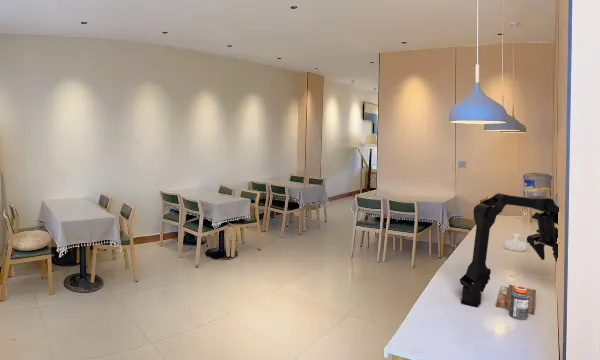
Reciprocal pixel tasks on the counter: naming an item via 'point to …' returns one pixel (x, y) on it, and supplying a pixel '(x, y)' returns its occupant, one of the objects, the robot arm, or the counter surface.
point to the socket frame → (505, 298)
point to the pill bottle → (519, 303)
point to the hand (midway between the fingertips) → (551, 263)
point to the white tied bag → (515, 243)
